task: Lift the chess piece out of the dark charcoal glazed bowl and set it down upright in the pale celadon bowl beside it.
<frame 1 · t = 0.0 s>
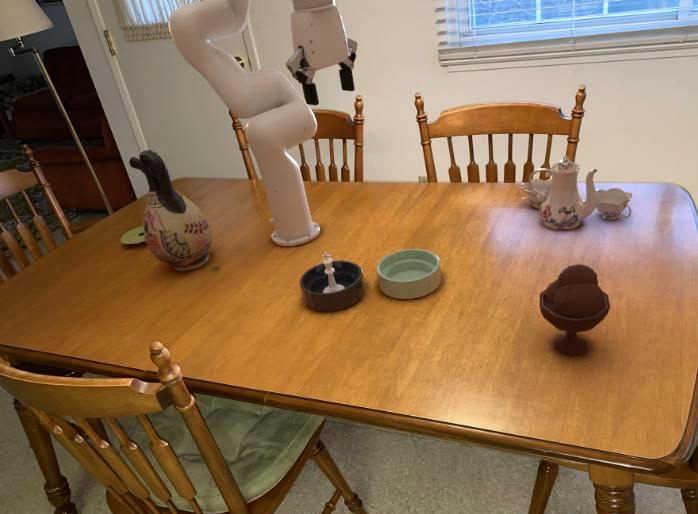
hand: (331, 97, 109), 37 cm above the table, tool pointing down, fingers open, 9 cm apart
ice cream bowl: (570, 346, 94), on the table
chinaware: (567, 217, 132), on the table
ceramic jug: (191, 264, 139), on the table
green bowl: (410, 282, 117), on the table
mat: (144, 240, 155), on the table
dark bowl: (334, 294, 117), on the table
chess piece: (334, 294, 117), resting on dark bowl
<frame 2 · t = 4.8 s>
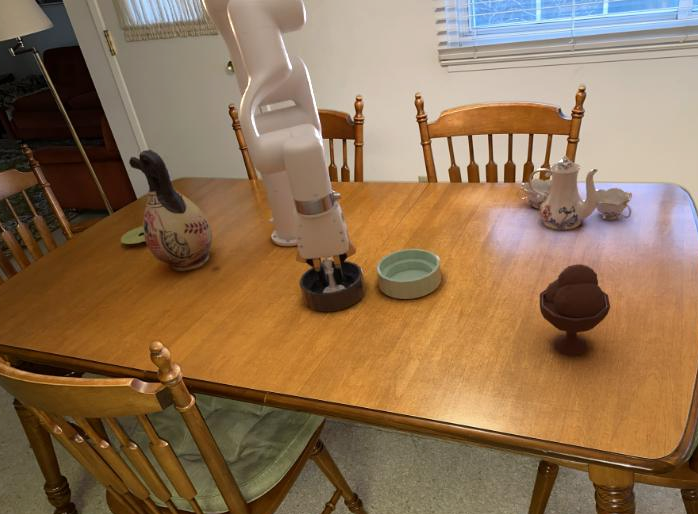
hand: (332, 282, 116), 3 cm above the table, tool pointing down, fingers closed on chess piece
chess piece: (334, 294, 117), resting on dark bowl, touching gripper
everything else where it was.
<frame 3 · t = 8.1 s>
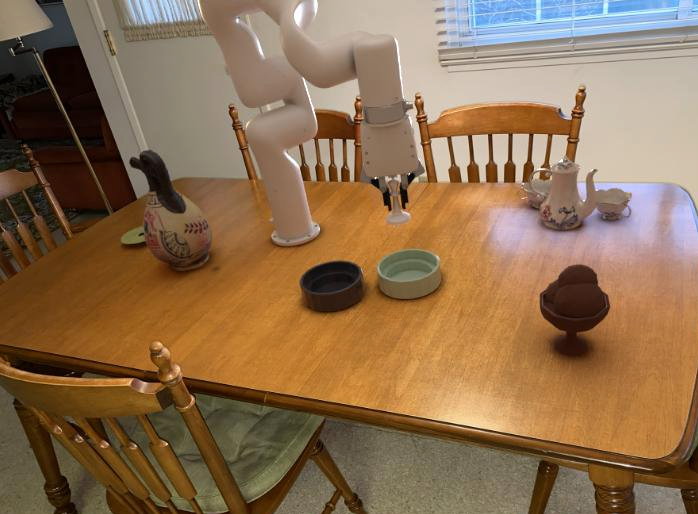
hand: (396, 206, 107), 18 cm above the table, tool pointing down, fingers closed on chess piece
chess piece: (398, 220, 109), point 15 cm above the table, touching gripper
everything else where it was.
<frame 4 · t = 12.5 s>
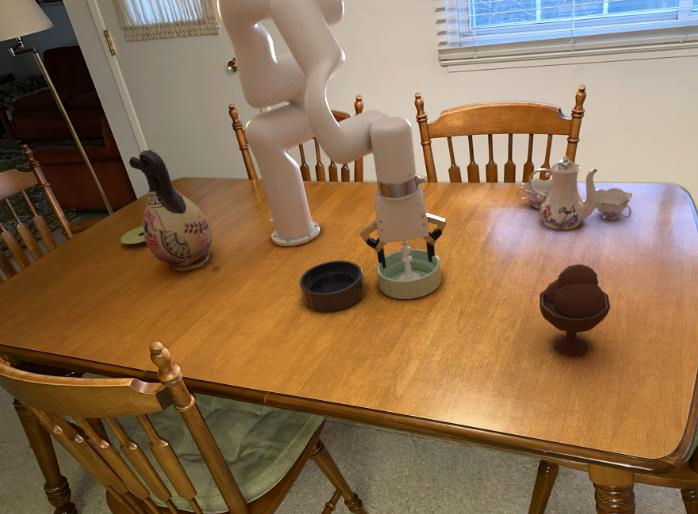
hand: (407, 262, 115), 5 cm above the table, tool pointing down, fingers open, 9 cm apart
chess piece: (409, 282, 117), resting on green bowl
everything else where it was.
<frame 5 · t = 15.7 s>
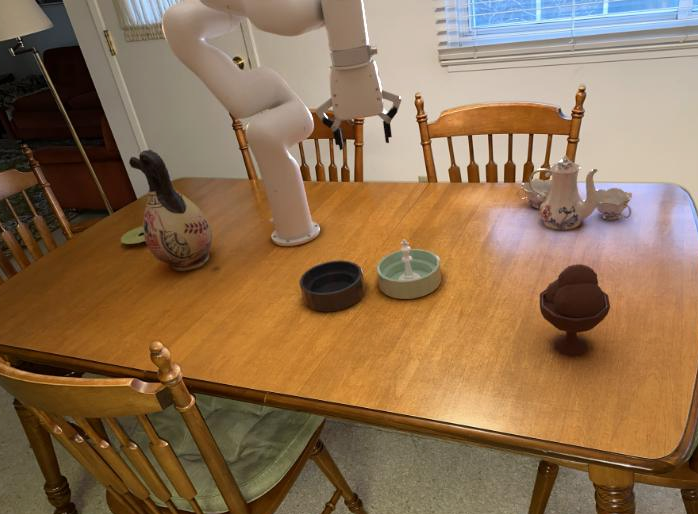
hand: (364, 144, 115), 26 cm above the table, tool pointing down, fingers open, 9 cm apart
nothing on the table moved.
at the end: chess piece 0.0 cm off-centre in the green bowl, point 0.1 cm above the green bowl's base; chess piece tilted 0°; the gripper is holding nothing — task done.
